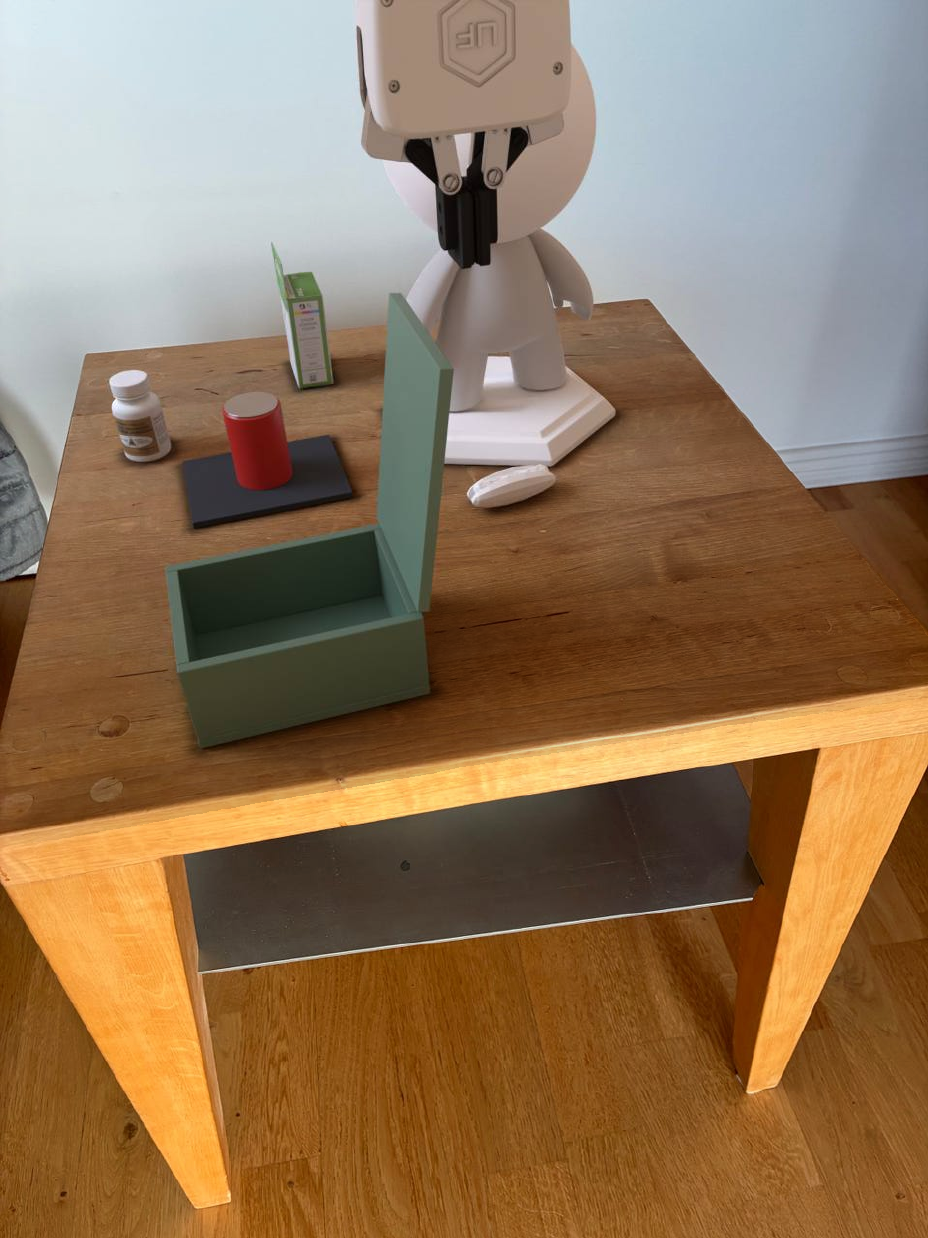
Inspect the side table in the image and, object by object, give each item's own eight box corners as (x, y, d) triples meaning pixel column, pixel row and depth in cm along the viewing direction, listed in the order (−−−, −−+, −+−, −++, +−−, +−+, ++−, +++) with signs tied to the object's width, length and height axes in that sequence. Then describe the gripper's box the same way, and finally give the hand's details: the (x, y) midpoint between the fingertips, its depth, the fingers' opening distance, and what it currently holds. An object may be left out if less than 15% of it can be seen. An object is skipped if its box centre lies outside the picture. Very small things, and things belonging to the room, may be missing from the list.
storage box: (200, 749, 63) (177, 673, 59) (186, 639, 72) (164, 565, 68) (430, 693, 67) (424, 617, 62) (390, 595, 75) (382, 522, 71)
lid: (439, 369, 52) (454, 368, 52) (388, 292, 61) (401, 292, 61) (417, 613, 62) (429, 611, 62) (376, 517, 70) (387, 516, 71)
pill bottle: (117, 462, 92) (95, 387, 88) (137, 439, 96) (116, 366, 91) (161, 464, 92) (140, 389, 87) (179, 441, 95) (160, 368, 90)
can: (241, 494, 86) (225, 421, 81) (234, 467, 90) (218, 396, 85) (296, 484, 87) (284, 411, 82) (287, 457, 91) (275, 386, 86)
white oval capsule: (559, 495, 85) (560, 467, 83) (477, 519, 83) (476, 491, 81) (542, 478, 87) (542, 451, 86) (461, 502, 85) (460, 474, 83)
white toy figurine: (536, 350, 108) (540, -26, 86) (646, 441, 92) (685, 7, 69) (367, 388, 102) (323, -3, 80) (451, 493, 86) (425, 38, 64)
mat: (193, 528, 83) (192, 522, 83) (183, 466, 91) (182, 460, 91) (353, 497, 86) (352, 491, 86) (329, 439, 94) (329, 434, 94)
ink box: (335, 384, 103) (318, 258, 95) (298, 390, 103) (278, 263, 94) (325, 358, 109) (308, 235, 100) (290, 363, 108) (269, 240, 99)
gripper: (300, -145, 39) (352, 304, 50) (644, -166, 42) (618, 262, 53) (272, -149, 44) (325, 256, 56) (578, -167, 47) (567, 221, 59)
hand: (468, 258), depth 55 cm, fingers closed
